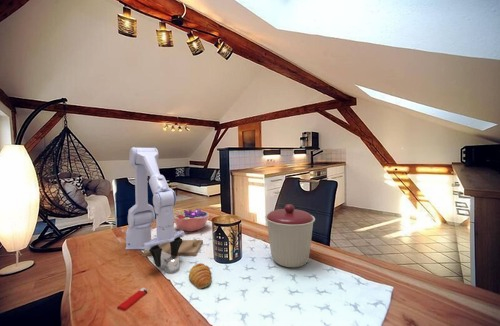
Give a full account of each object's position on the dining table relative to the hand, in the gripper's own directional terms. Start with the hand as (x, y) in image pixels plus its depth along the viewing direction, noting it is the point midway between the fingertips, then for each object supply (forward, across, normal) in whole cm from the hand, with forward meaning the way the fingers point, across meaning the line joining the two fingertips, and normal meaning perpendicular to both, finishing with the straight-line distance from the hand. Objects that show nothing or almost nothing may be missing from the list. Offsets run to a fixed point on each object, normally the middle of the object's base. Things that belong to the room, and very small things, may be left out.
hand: (166, 262), depth 74 cm
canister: (+2, +29, -34) cm, 45 cm away
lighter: (+2, -15, -8) cm, 17 cm away
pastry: (+2, +2, -16) cm, 16 cm away
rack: (+2, +10, +10) cm, 14 cm away
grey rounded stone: (+2, 0, 0) cm, 2 cm away
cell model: (+2, +30, +24) cm, 38 cm away
